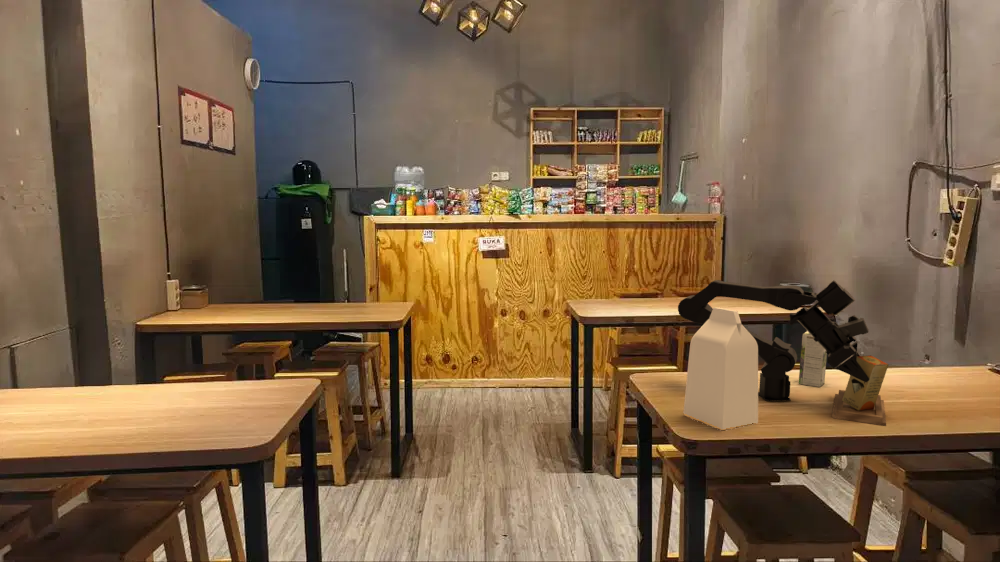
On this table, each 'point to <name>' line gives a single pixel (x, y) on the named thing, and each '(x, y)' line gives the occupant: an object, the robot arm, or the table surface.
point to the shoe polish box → (866, 384)
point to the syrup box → (812, 362)
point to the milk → (723, 372)
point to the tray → (852, 414)
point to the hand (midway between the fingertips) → (867, 376)
